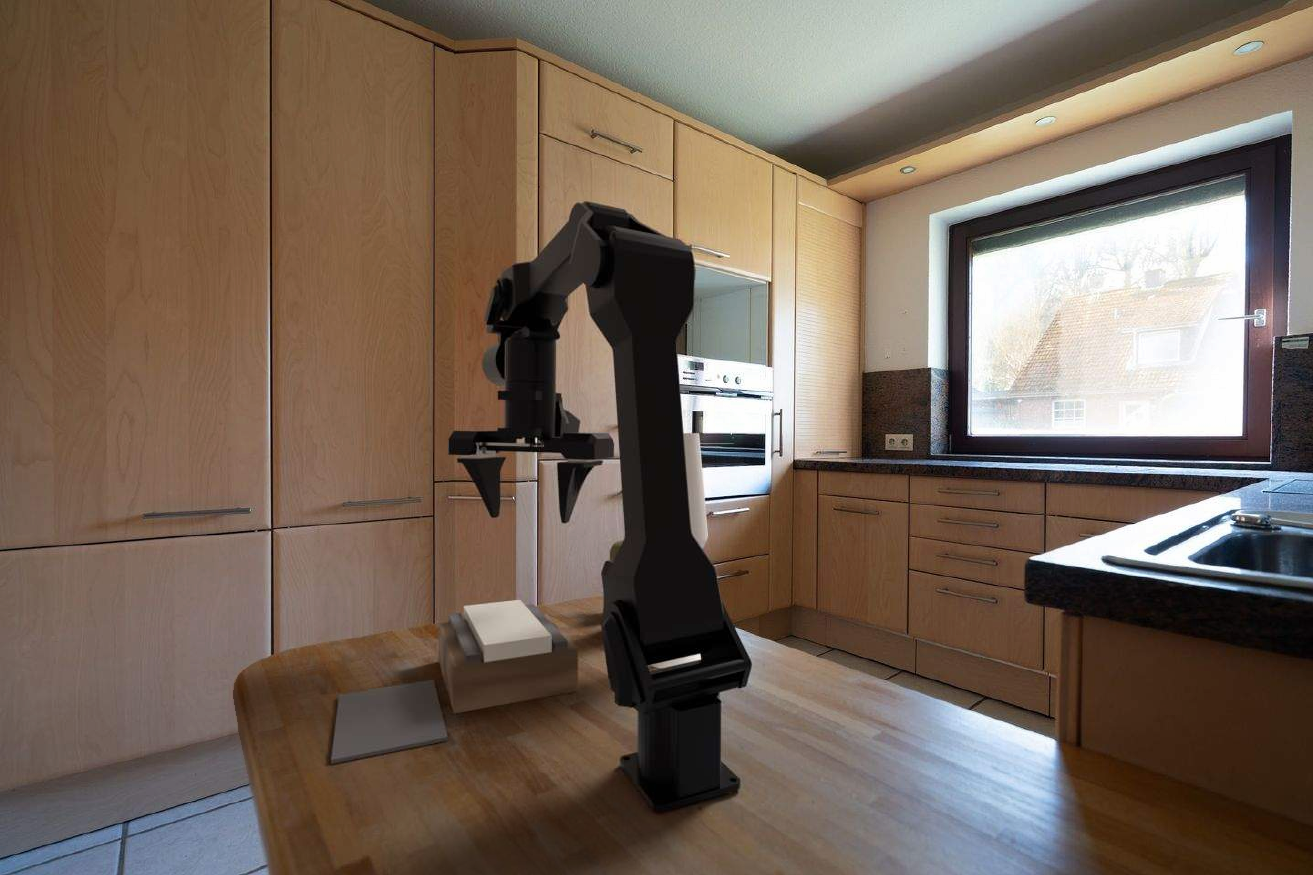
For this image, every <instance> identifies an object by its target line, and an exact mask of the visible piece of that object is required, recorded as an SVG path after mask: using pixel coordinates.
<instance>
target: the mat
mask: <svg viewBox="0 0 1313 875" xmlns="http://www.w3.org/2000/svg"><path fill="white" fill-rule="evenodd" d="M436 688H437V687H436V685H435V680H434V679H429V680H428V679H427V680H423V681H414V682H411V683H410V682H409V683H404V684H398V685H390V686H385V687H380V688H379V687H378V688H372V689H366V690H365V689H364V690H360V691H354V692H348V693H346V692H345V693H340V694H339V695H338V701H337V710H336V717H335V718H336V719H335V726H334V733H333V743H332V750H331V759H330V764H331V765H334V764H338V763H344V762H347V761H353V760H359V759H364V758H368V757H373V756H377V755H384V754H388V753H393V752H397V751H399V752H400V751H403V750H408V749H413V748H419V747H423V746H428V745H431V744H432V745H434V744H436V743H437V744H438V743H442V742H448V741H449V740H448V734H447V733H448V732H447V729H446V726H445V722H444V718H443V716H444V715H443V713H442V709H441V704H440V702H439V701H440V700H439V697H438V693H437V692H438V691H437V689H436Z"/></svg>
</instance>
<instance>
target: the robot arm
mask: <svg viewBox="0 0 1313 875" xmlns="http://www.w3.org/2000/svg"><path fill="white" fill-rule="evenodd" d="M695 264H696V263H695V257H694V254H693V251H692V249H691V246H690V245H687V244H686V243H685V242H684V241H683V240H682V239H680V238H675V237H671V236H666V235H665V234H663V233H661V232H660V231H657V230H656V229H654V228H652V227H650V226H648V225H647V224H645V223H643V222H641V221H639V219H637V218H636V217H635V216H634V215H633V214H631V213H629V212H628V211H627V210H626V209H625V208H619V207H614V206H610V205H606V204H601V203H597V202H593V201H587V200H585V201H583V202H576V203H575V204H573V206H572V208H571V210H570V213H569V217H568V221H567V222H566V223H565V224H564V225H563V227H562V228H561V229H560V230H559V231H558V232H557V233H556V234H555V236H553V237H552V238H551V240H550V241H549V242H548V244H546V245H545V246H544V248H543V249H542V250H541V251H540V252H539V253H538V255H537V256H536V257H535V258H534V259H533V260H530V261H524V262H523V261H522V262H516V263H513V264H511V265H510V266H509V267H507V268H506V269H505V270H504V271H502V272H501V273H502V274H501V276H500V277H498V278H496V280H495V283H494V285H493V287H492V288H491V291H490V296H489V298H488V303H487V305H486V306H487V307H486V311H485V314H484V322H485V324H486V334H493V335H497V342H495V343H493V344H491V345H490V346H489V347H488V348H487V349H486V351H485V352H484V354H483V357H482V359H481V367H482V371H483V373H484V376H485V377H486V379H487V380H488V381H490V382H491V383H492V384H494V385H495V386H498V387H501V388H504V390H497V401H503V402H504V412H503V413H504V414H503V415H504V417H503V418H504V420H503V421H504V422H503V423H504V424H503V427H497V428H496V429H497V430H480V429H479V430H478V429H477V430H453V431H452V433H451V435H450V436H449V437H448V439H447V455H449V456H450V455H451V456H460V457H456V462H457V463H458V464H462V465H463V466H464V468H465V470H466V471H467V474H468V475H469V477H470V478H471V480H472V481H473V484H474V485H475V487H476V490H477V491H478V493H479V495H480V497H481V500H482V501H483V503H484V506H485V508H486V510H487V512H488V514H489V516H490V518H492V519H496V518H499V516H500V510H501V471H502V467H503V466H504V463H505V461H506V459H507V456H497V454H500V453H501V452H516V453H519V452H520V453H540V454H541V453H544V454H545V453H548V454H561V456H562V457H563V458H564V459H565V460H566V461H558V462H557V463H556V467H557V468H556V471H557V472H556V473H557V488H558V489H557V490H558V510H559V516H560V522H561V524H567V523H569V522H570V520H571V517H572V514H573V512H574V509H575V506H576V503H577V501H578V498H579V495H580V492H581V489H582V487H583V485H584V483H585V480H586V478H587V477H588V475H589V474H590V472H591V471H592V470H593V469H594V468H595V467H598V466H603V463H604V459H611V458H614V457H615V441H614V439H613V438H612V436H611V434H610V433H609V432H580V426H581V420H580V419H579V418H578V417H576V416H575V415H574V414H573V413H572V412H570V411H569V410H566V409H564V406H563V397H562V393H561V392H557V341H558V340H560V339H561V333H560V331H559V327H561V326H560V325H561V324H562V321H563V319H564V317H565V315H566V314H567V313H568V311H569V296H570V295H571V294H572V293H573V292H574V291H576V290H577V289H578V288H579V287H580V286H581V285H583V284H584V285H585V290H586V296H587V297H586V298H587V306H588V312H589V315H590V317H591V320H592V321H593V322H594V324H595V325H596V327H597V328H598V330H599V331H600V333H601V334H602V336H603V338H605V340H606V341H607V343H608V344H609V345H610V347H611V349H612V350H611V351H612V359H613V371H614V372H613V374H614V376H613V377H614V387H615V388H614V389H615V391H614V392H615V404H616V405H615V406H616V417H617V419H616V420H617V422H616V423H617V433H618V451H619V452H618V453H619V464H620V467H619V468H620V478H621V480H620V482H621V497H622V512H623V524H624V525H623V528H624V531H623V532H624V537H623V538H624V539H623V540H624V541H623V543H622V545H621V547H620V549H619V551H618V553H617V555H616V557H615V559H614V560H610V559H609V560H605V561H604V563H603V566H602V569H601V583H602V584H601V585H602V590H603V591H602V592H603V593H604V606H603V607H602V615H601V621H600V627H601V628H600V629H601V633H602V634H601V635H602V642H603V649H604V657H605V663H606V672H607V678H608V680H609V685H610V689H611V691H612V692H614V703H615V704H616V705H617V706H618V707H625V708H630V709H632V708H633V709H634V710H636V711H637V751H636V752H632V753H628V754H624V755H621V756H620V757H619V765H620V768H622V770H623V771H624V773H625V775H627V777H628V778H629V779H630V781H631V782H632V784H633V785H634V786H635V787H636V789H637V790H638V791H639V793H640V795H641V796H642V797H643V798H644V800H645V801H646V802H647V804H648V805H649V807H650V808H651V809H652V810H653V811H655V812H657V813H660V812H661V813H662V812H666V811H670V810H673V809H676V808H679V807H683V806H686V805H689V804H690V805H691V804H693V803H698V802H701V801H703V800H707V799H710V798H714V797H718V796H721V795H724V794H728V793H731V792H735V791H738V790H740V789H741V779H740V777H739V776H738V775H736V773H735V772H733V771H732V770H731V769H730V768H729V767H728V766H727V765H726V764H725V763H724V762H723V761H722V700H721V697H720V696H721V693H723V692H727V691H731V690H735V689H743V688H746V687H747V685H748V681H749V678H750V675H751V670H752V666H753V664H752V663H753V661H752V660H751V658H750V656H749V654H748V652H747V649H746V648H745V645H744V644H743V641H742V639H741V638H740V635H739V634H738V632H737V629H736V627H735V626H734V624H733V621H732V619H731V617H730V615H729V613H728V611H727V609H726V606H725V605H724V602H723V600H722V595H721V591H720V585H719V580H718V579H719V578H718V575H717V569H716V567H715V566H714V564H713V563H712V561H711V560H710V557H709V556H708V555H707V554H706V552H705V550H704V549H702V548H701V546H700V545H699V543H698V542H697V540H696V539H695V537H694V536H693V534H692V530H691V521H690V508H689V496H688V483H687V470H686V457H685V444H684V433H685V432H684V423H683V422H684V421H683V419H684V418H683V410H682V408H683V407H682V397H681V383H680V370H679V358H678V356H679V355H678V339H679V338H680V336H681V333H682V332H683V330H684V328H685V326H686V324H687V322H688V321H689V318H690V317H691V314H692V312H693V310H694V308H695V286H696V285H695V282H696V281H695V280H696V271H697V270H696V265H695ZM523 439H524V442H522V443H521V442H518V441H517V440H523ZM536 439H537V441H539V442H536ZM697 654H700V656H701V660H696V661H692V662H688V663H683V664H679V665H674V666H670V667H666V668H661V669H660V668H656V669H653V670H650V668H649V666H651V665H652V664H657V663H661V662H666V661H670V660H675V659H679V658H684V657H688V656H693V655H697Z"/></svg>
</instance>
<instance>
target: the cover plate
mask: <svg viewBox="0 0 1313 875" xmlns="http://www.w3.org/2000/svg"><path fill="white" fill-rule="evenodd" d="M463 619H464V621H465V623H466V625H467V627H468V629H469V631H470V633H471V635H472V637H473V639H474V641H475V643H476V645H477V647H478V649H479V651H480V653H481V657H482V659H483V661H484V662H490V661H496V660H503V659H509V658H516V657H522V656H529V655H535V654H542V653H548V652H552V635H551V634H550V633H549V632H548V631H547V630H546V629H545V627H544V626H543V625H542V624H541V623H540V622H539V621H538V619H537V618H536V617H535V616H534V615H533V614H532V613H531V612H530V610H529V609H528V608H527V607H526V606H525V603H524V602H523V601H522V600H521V599H514V600H507V601H505V600H504V601H497V602H487V603H479V604H470V605H464V606H463Z"/></svg>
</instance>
